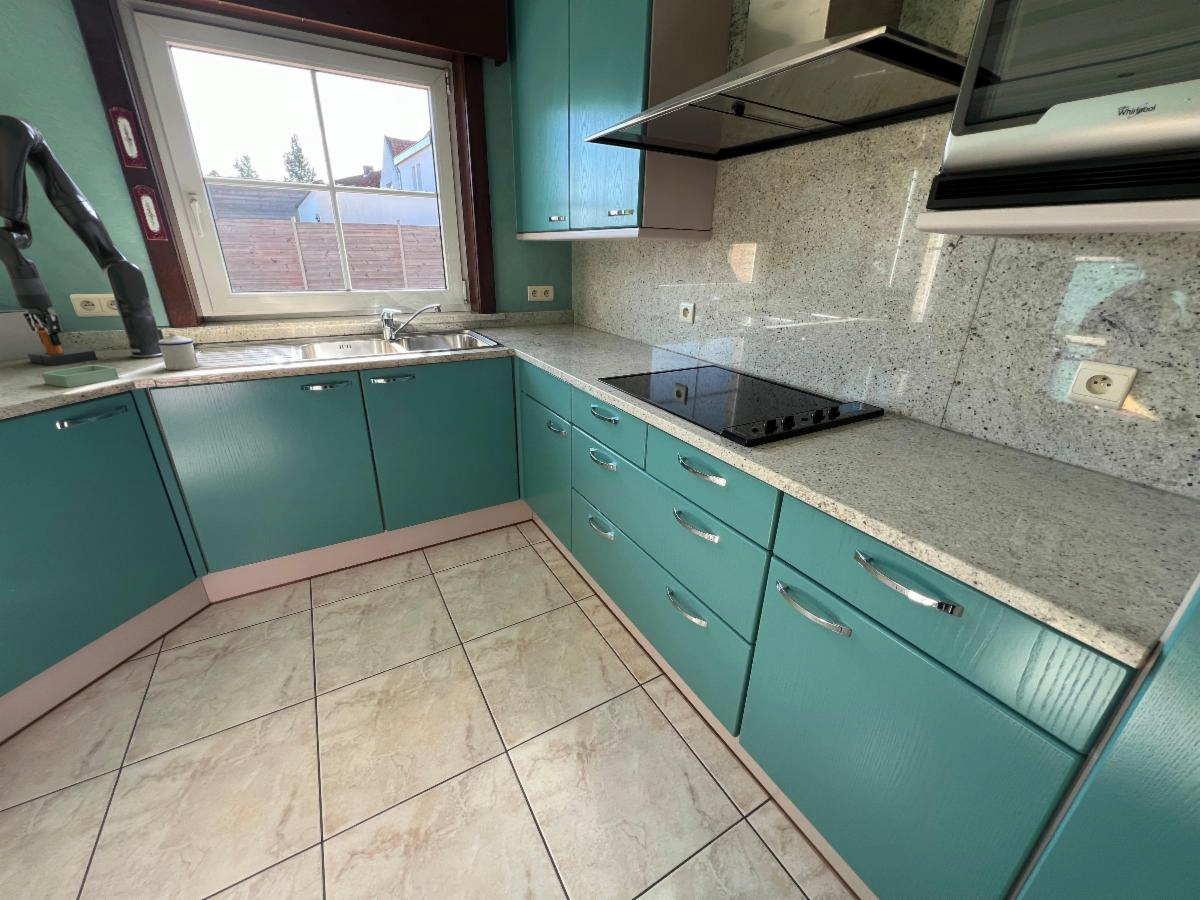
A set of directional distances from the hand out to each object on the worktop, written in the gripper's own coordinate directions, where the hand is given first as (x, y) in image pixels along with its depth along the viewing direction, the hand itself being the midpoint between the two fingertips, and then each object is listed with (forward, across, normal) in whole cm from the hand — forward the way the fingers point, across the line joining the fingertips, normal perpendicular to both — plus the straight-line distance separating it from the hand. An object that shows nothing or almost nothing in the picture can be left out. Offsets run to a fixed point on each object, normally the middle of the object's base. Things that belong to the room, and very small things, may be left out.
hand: (52, 344), depth 167 cm
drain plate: (+6, 0, -2) cm, 6 cm away
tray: (+6, -38, +13) cm, 41 cm away
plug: (+4, 0, 0) cm, 4 cm away
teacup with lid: (+6, -43, -11) cm, 45 cm away
